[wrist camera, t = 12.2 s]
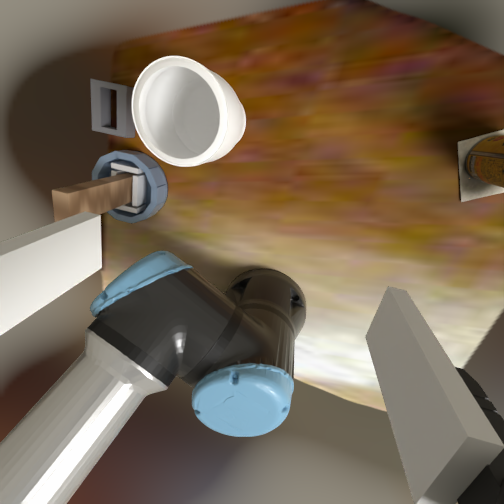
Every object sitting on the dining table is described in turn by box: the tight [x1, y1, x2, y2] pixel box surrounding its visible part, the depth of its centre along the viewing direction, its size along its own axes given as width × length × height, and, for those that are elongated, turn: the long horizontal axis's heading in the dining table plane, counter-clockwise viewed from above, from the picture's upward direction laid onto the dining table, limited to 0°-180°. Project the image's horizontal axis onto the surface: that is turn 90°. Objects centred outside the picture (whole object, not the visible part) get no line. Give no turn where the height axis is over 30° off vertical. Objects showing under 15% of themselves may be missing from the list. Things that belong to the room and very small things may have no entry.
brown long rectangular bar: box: [52, 172, 137, 222], centre depth 41 cm, size 4×2×16 cm, turn 169°
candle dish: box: [92, 150, 168, 223], centre depth 48 cm, size 11×11×4 cm
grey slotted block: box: [90, 79, 135, 138], centre depth 44 cm, size 7×6×2 cm
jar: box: [132, 56, 246, 167], centre depth 37 cm, size 11×10×15 cm
